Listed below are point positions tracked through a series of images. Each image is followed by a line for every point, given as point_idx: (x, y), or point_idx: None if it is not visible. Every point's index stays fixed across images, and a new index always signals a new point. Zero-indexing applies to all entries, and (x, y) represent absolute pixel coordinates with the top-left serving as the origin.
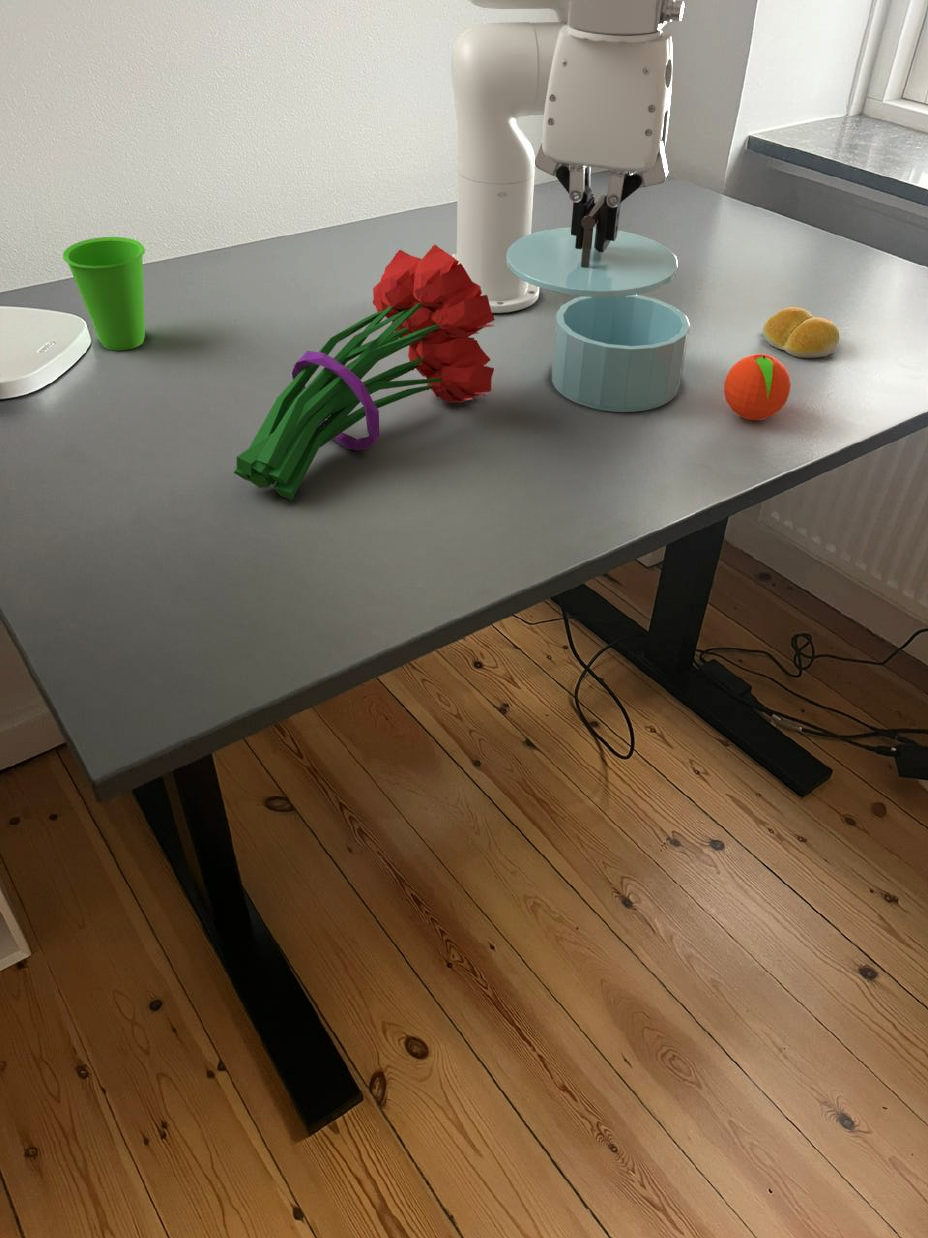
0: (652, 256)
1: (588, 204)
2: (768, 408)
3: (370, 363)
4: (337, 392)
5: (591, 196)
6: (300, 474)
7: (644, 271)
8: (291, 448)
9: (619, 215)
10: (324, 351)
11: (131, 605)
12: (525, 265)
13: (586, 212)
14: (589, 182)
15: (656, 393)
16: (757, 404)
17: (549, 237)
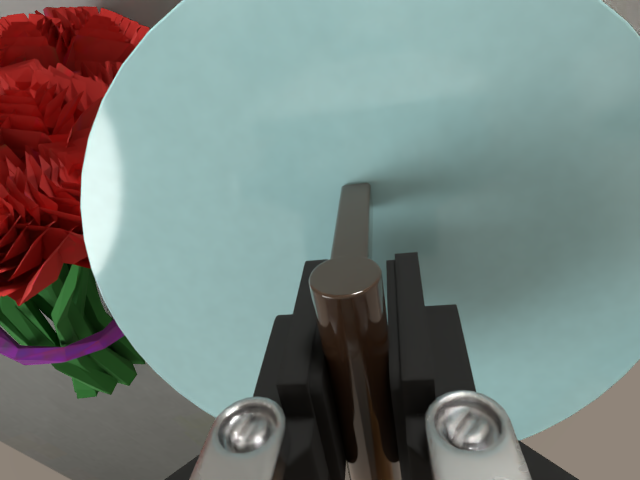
0: (589, 185)
1: (340, 472)
2: None
3: (57, 288)
4: (74, 329)
5: (313, 411)
6: (131, 350)
7: (574, 318)
8: (107, 370)
9: (467, 354)
10: None
11: (156, 473)
12: (228, 398)
13: (345, 462)
14: (280, 464)
15: None
16: None
17: (155, 185)
